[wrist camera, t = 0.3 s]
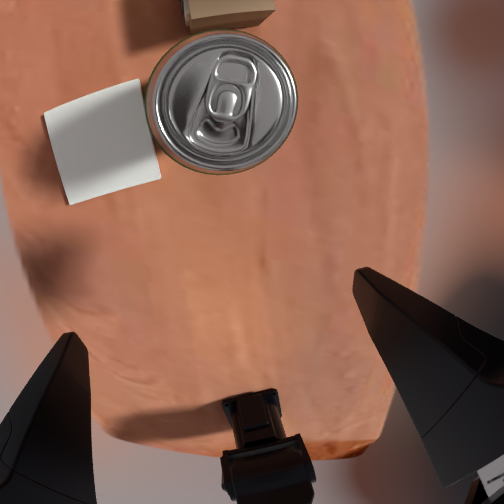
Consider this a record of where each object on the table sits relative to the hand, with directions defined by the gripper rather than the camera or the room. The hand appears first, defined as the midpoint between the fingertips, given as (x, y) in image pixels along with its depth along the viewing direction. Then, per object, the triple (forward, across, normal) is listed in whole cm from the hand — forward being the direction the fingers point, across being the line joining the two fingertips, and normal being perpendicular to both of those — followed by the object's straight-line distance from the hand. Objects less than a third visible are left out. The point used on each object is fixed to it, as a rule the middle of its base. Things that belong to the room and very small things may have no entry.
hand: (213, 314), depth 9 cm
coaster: (+14, +6, -3) cm, 16 cm away
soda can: (+15, -2, -4) cm, 15 cm away
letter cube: (+16, -4, -11) cm, 19 cm away
